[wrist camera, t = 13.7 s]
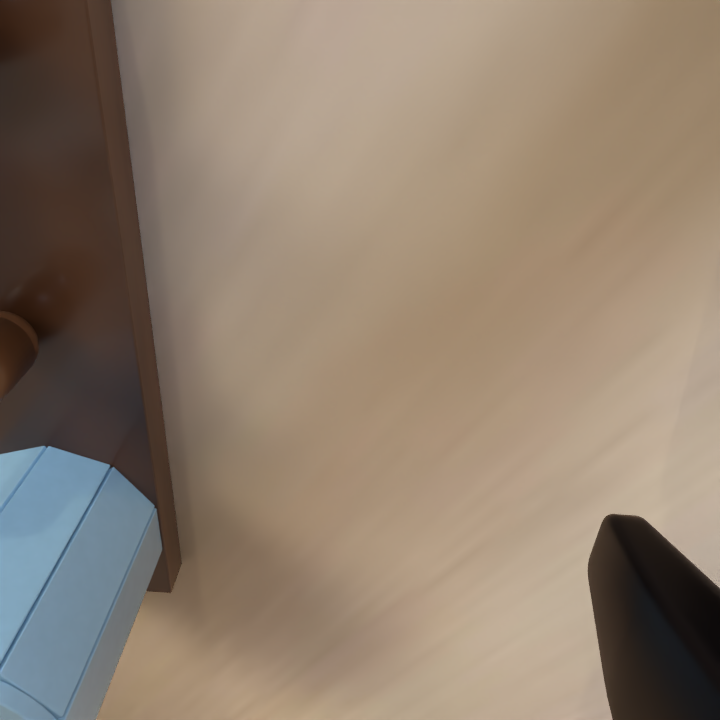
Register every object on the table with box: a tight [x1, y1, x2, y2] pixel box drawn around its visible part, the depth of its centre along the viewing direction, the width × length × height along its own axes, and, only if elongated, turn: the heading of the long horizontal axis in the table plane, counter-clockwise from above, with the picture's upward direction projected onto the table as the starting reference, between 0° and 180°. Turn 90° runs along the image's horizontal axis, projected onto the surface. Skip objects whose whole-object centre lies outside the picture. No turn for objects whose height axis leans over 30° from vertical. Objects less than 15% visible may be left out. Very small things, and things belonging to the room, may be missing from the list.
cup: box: [0, 446, 162, 720], centre depth 20 cm, size 7×7×8 cm
